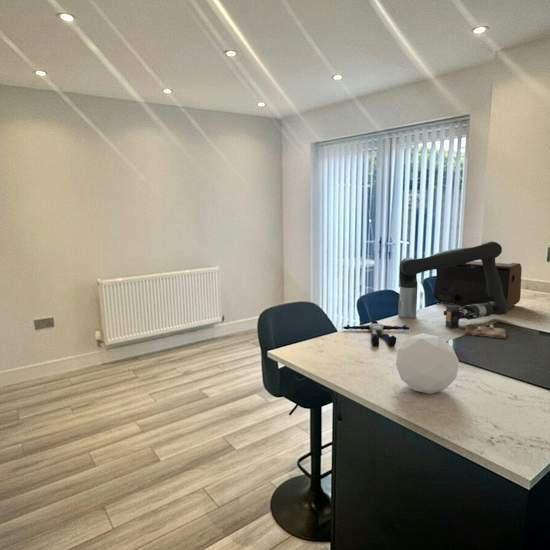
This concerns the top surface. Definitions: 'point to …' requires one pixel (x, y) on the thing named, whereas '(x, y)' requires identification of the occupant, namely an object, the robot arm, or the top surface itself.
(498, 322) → the top surface
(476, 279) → the radio
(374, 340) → the toy
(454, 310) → the dark grey tall block
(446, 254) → the robot arm
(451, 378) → the geometric sphere
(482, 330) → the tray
